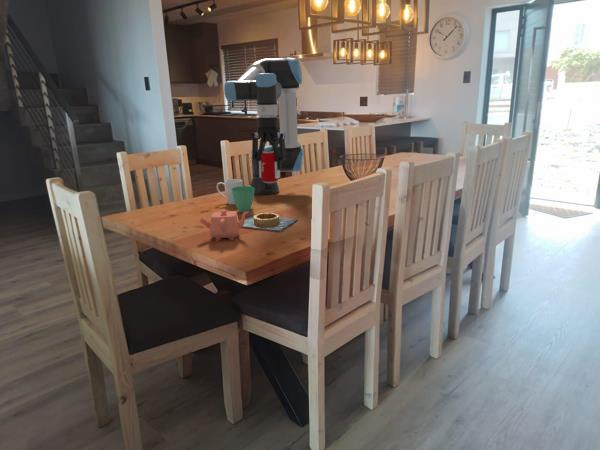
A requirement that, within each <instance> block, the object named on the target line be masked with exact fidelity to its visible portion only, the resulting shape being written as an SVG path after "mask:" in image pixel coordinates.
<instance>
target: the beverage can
mask: <svg viewBox="0 0 600 450" xmlns="http://www.w3.org/2000/svg"><path fill="white" fill-rule="evenodd" d="M275 161H276V157H275V154H274V151H262V154H261V170H262V181H263V182H264V183H275V182H277V183H278V181H279V178H277V179H275Z"/></svg>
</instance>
